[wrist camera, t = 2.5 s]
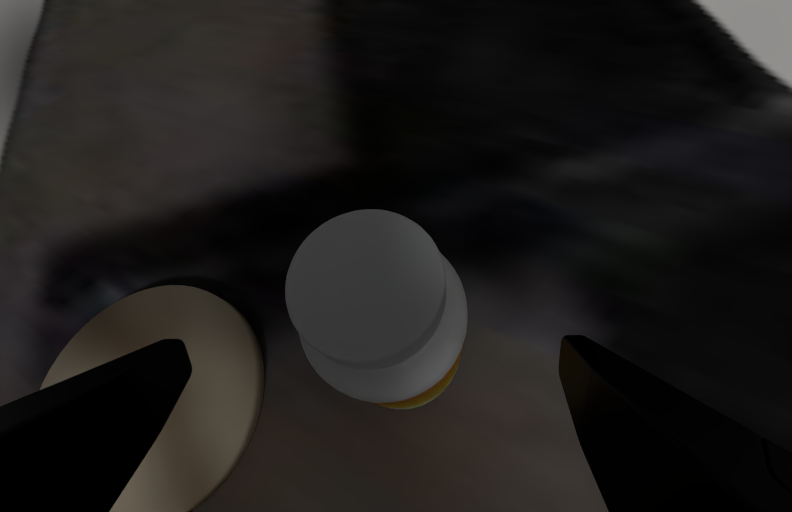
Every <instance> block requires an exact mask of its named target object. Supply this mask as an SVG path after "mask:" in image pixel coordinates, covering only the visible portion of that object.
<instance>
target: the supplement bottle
mask: <svg viewBox="0 0 792 512" xmlns="http://www.w3.org/2000/svg"><path fill="white" fill-rule="evenodd" d="M285 299H286V306H287V309H288V313H289V316H290V319H291V321H292V323H293V325H294V327H295V328H296V330H297V331H298V333H299V337H300V341H301V344H302V347H303V350H304V352H305V355H306V357H307V359H308V360H309V362H310V364H311V365H312V367H313V368H314V370H315V371H316V372H317V373H318V375H319V376H320V377H321V378H322V379H323V380H325V381H326V382H327V383H328V384H329V385H331V386H332V387H333V388H335V389H336V390H338V391H340V392H342V393H343V394H345V395H348V396H350V397H352V398H355V399H357V400H361V401H364V402H369V403H373V404H377V405H380V406H383V407H387V408H392V409H412V408H417V407H420V406H423V405H425V404H427V403H429V402H431V401H433V400H434V399H435V398H437V397H438V396H439V395H440V394H441V393H442V392H443V391H445V389H446V388H447V387H448V386H449V384H450V383H451V381H452V380H453V378H454V376H455V374H456V371H457V368H458V365H459V361H460V356H461V352H462V348H463V344H464V340H465V336H466V331H467V324H468V310H467V301H466V296H465V292H464V289H463V286H462V283H461V280H460V278H459V276H458V275H457V273H456V271H455V269H454V268H453V267H452V265H451V264H450V263H449V261H448V260H447V259H446V258H445V257H444V256H443V255H442V254H441V253H440V252H439V250H438V248H437V246H436V244H435V243H434V241H433V240H432V238H431V237H430V236H429V235H428V234H427V233H426V231H425V230H424V229H423V228H422V227H421V226H419V225H418V224H416V223H415V222H414V221H412V220H410V219H408V218H406V217H404V216H403V215H400V214H397V213H394V212H390V211H386V210H378V209H364V210H357V211H352V212H348V213H345V214H342V215H339V216H337V217H334V218H332V219H330V220H329V221H327V222H325V223H323V224H322V225H321V226H319V227H318V228H317V229H315V230H314V231H313V232H312V233H311V234H310V235H309V236H308V237H307V238H306V239H305V240H304V242H303V243H302V244H301V245H300V247H299V248H298V250H297V252H296V253H295V255H294V257H293V259H292V261H291V264H290V267H289V270H288V273H287V277H286V284H285Z"/></svg>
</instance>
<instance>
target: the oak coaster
mask: <svg viewBox="0 0 792 512" xmlns="http://www.w3.org/2000/svg"><path fill="white" fill-rule="evenodd" d="M163 339H180V340H182V341H183V342H184V344H185V346H186V349H187V352H188V355H189V358H190V361H191V364H192V374H191V377H190V379H189V381H188V382H187V384H186V386H185V388H184V390H183V392H182V394H181V396H180V397H179V399H178V401H177V403H176V405H175V407H174V409H173V411H172V412H171V414H170V416H169V418H168V420H167V422H166V424H165V426H164V427H163V429H162V431H161V433H160V434H159V436H158V438H157V439H156V441H155V442H154V444H153V446H152V447H151V449H150V450H149V452H148V453H147V455H146V456H145V458H144V459H143V461H142V462H141V464H140V465H139V467H138V469H137V470H136V472H135V473H134V475H133V476H132V478H131V479H130V481H129V482H128V484H127V485H126V487H125V489H124V490H123V492H122V493H121V495H120V496H119V498H118V499H117V501H116V502H115V504H114V505H113V507H112V508H111V510H110V512H191V511H193V510H194V509H195V508H197V507H198V506H199V505H201V504H202V503H203V502H204V501H205V500H207V499H208V498H209V497H210V496H211V495H212V494H213V493H214V492H215V491H216V490H217V489H218V488H219V487H220V486H221V484H222V483H223V482H224V481H225V480H226V479H227V478H228V476H229V475H230V474H231V472H232V471H233V469H234V468H235V466H236V465H237V464H238V462H239V461H240V459H241V457H242V455H243V453H244V452H245V450H246V448H247V446H248V444H249V442H250V440H251V437H252V435H253V433H254V430H255V428H256V424H257V421H258V418H259V415H260V411H261V406H262V401H263V395H264V381H265V377H264V363H263V357H262V351H261V348H260V345H259V342H258V339H257V337H256V335H255V333H254V331H253V329H252V327H251V325H250V324H249V322H248V321H247V320H246V318H245V317H244V316H243V315H242V314H241V313H240V312H239V311H238V310H237V309H236V308H235V307H233V306H232V305H231V304H229V303H228V302H226V301H225V300H223V299H221V298H219V297H217V296H216V295H214V294H212V293H210V292H208V291H205V290H202V289H199V288H196V287H191V286H184V285H167V286H158V287H154V288H150V289H145V290H142V291H140V292H137V293H134V294H131V295H129V296H127V297H125V298H123V299H121V300H119V301H117V302H116V303H114V304H112V305H111V306H109V307H107V308H106V309H105V310H103V311H102V312H101V313H99V314H98V315H97V316H95V317H94V318H93V319H92V320H90V321H89V322H88V323H87V324H86V325H85V326H84V327H83V328H82V329H81V330H80V331H79V332H78V333H77V334H76V335H75V336H74V337H73V338H72V339H71V340H70V342H69V343H68V344H67V345H66V347H65V348H64V349H63V351H62V352H61V353H60V355H59V356H58V358H57V359H56V361H55V362H54V364H53V365H52V367H51V368H50V370H49V372H48V374H47V376H46V378H45V380H44V381H43V384H42V386H41V388H40V390H42V389H44V388H46V387H49V386H51V385H54V384H56V383H59V382H61V381H63V380H66V379H68V378H71V377H73V376H75V375H78V374H80V373H83V372H85V371H88V370H90V369H92V368H95V367H97V366H100V365H102V364H104V363H107V362H109V361H112V360H114V359H116V358H119V357H121V356H124V355H126V354H129V353H131V352H133V351H136V350H138V349H141V348H143V347H145V346H148V345H150V344H153V343H155V342H158V341H160V340H163Z"/></svg>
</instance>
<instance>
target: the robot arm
mask: <svg viewBox="0 0 792 512" xmlns="http://www.w3.org/2000/svg"><path fill="white" fill-rule="evenodd" d="M191 374H192V364H191V361H190V358H189V355H188V352H187V349H186V346H185V344H184V342H183V341H182V340H180V339H163V340H160V341H158V342H155V343H153V344H150V345H148V346H145V347H143V348H141V349H138V350H136V351H133V352H131V353H129V354H126V355H124V356H121V357H119V358H116V359H114V360H112V361H109V362H107V363H104V364H102V365H100V366H97V367H95V368H92V369H90V370H88V371H85V372H83V373H80V374H78V375H75V376H73V377H71V378H68V379H66V380H63V381H61V382H59V383H56V384H54V385H51V386H49V387H46V388H44V389H42V390H39V391H37V392H34V393H32V394H30V395H27V396H25V397H22V398H20V399H17V400H15V401H13V402H10V403H8V404H5V405H3V406H1V407H0V512H110V510H111V508H112V507H113V505H114V504H115V502H116V501H117V499H118V498H119V496H120V495H121V493H122V492H123V490H124V489H125V487H126V485H127V484H128V482H129V481H130V479H131V478H132V476H133V475H134V473H135V472H136V470H137V469H138V467H139V465H140V464H141V462H142V461H143V459H144V458H145V456H146V455H147V453H148V452H149V450H150V449H151V447H152V446H153V444H154V442H155V441H156V439H157V438H158V436H159V434H160V433H161V431H162V429H163V427H164V426H165V424H166V422H167V420H168V418H169V416H170V414H171V412H172V411H173V409H174V407H175V405H176V403H177V401H178V399H179V397H180V396H181V394H182V392H183V390H184V388H185V386H186V384H187V382H188V381H189V379H190V377H191ZM559 376H560V380H561V383H562V387H563V390H564V393H565V396H566V400H567V403H568V406H569V410H570V413H571V416H572V420H573V423H574V426H575V430H576V433H577V436H578V439H579V442H580V445H581V447H582V450H583V452H584V455H585V457H586V459H587V462H588V464H589V466H590V469H591V471H592V473H593V476H594V478H595V480H596V483H597V485H598V487H599V490H600V492H601V494H602V497H603V499H604V501H605V504H606V506H607V508H608V511H609V512H792V453H790V452H789V451H787V450H785V449H783V448H782V447H780V446H778V445H776V444H775V443H773V442H771V441H769V440H768V439H765V438H762V439H761V437H760V436H759V435H758V434H757V433H755V432H753V431H751V430H750V429H748V428H746V427H744V426H743V425H741V424H739V423H737V422H736V421H734V420H732V419H730V418H728V417H727V416H725V415H723V414H721V413H720V412H718V411H716V410H714V409H713V408H711V407H709V406H707V405H705V404H704V403H702V402H700V401H698V400H697V399H695V398H693V397H691V396H690V395H688V394H686V393H684V392H682V391H681V390H679V389H677V388H675V387H674V386H672V385H670V384H668V383H667V382H665V381H663V380H661V379H659V378H658V377H656V376H654V375H652V374H651V373H649V372H647V371H645V370H644V369H642V368H640V367H638V366H636V365H635V364H633V363H631V362H629V361H628V360H626V359H624V358H622V357H621V356H619V355H617V354H615V353H613V352H612V351H610V350H608V349H606V348H605V347H603V346H601V345H599V344H598V343H596V342H594V341H592V340H590V339H589V338H587V337H585V336H582V335H566V336H564V337H563V338H562V341H561V349H560V358H559Z"/></svg>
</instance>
